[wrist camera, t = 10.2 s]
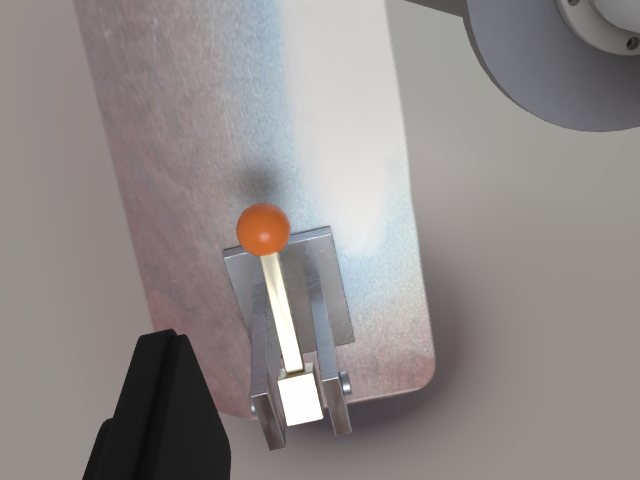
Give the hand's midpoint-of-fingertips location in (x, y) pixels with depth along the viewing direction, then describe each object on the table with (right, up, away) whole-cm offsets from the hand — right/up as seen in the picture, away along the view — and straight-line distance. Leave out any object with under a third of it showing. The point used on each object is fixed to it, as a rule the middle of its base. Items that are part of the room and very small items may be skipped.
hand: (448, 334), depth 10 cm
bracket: (-5, -2, +33) cm, 33 cm away
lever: (-5, -2, +24) cm, 25 cm away
